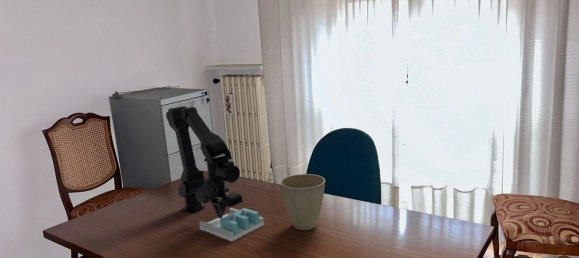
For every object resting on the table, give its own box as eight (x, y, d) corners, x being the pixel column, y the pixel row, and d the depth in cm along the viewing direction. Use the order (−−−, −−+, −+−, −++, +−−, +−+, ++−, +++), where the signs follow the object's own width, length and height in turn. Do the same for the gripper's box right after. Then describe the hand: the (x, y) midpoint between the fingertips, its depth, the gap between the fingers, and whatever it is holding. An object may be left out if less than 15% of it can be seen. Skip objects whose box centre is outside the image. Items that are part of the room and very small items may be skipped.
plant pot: (336, 225, 152) (334, 180, 149) (301, 239, 143) (299, 192, 140) (307, 212, 164) (305, 170, 160) (274, 225, 155) (271, 180, 152)
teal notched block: (220, 230, 151) (219, 219, 150) (245, 218, 159) (244, 207, 158) (235, 235, 146) (234, 224, 145) (259, 223, 154) (258, 212, 153)
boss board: (200, 229, 155) (198, 212, 154) (232, 214, 166) (230, 198, 165) (231, 241, 145) (230, 223, 143) (263, 225, 156) (262, 208, 154)
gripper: (180, 177, 155) (185, 219, 159) (216, 188, 143) (220, 233, 147) (206, 168, 163) (209, 209, 167) (242, 178, 151) (245, 221, 155)
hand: (220, 218), depth 159 cm, fingers closed
